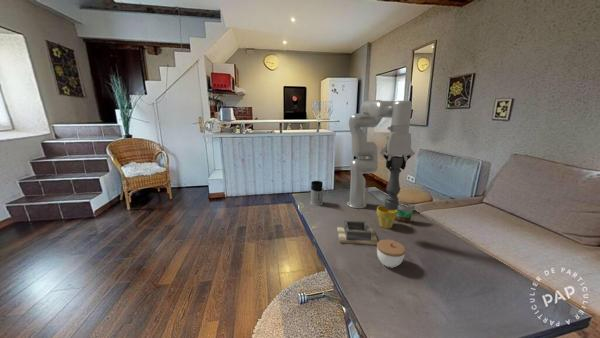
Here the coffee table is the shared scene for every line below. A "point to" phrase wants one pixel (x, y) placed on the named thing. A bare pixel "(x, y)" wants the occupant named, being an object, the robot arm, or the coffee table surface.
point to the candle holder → (393, 183)
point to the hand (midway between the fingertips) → (395, 168)
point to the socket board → (356, 233)
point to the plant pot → (386, 216)
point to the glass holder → (317, 193)
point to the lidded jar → (390, 253)
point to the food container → (404, 213)
